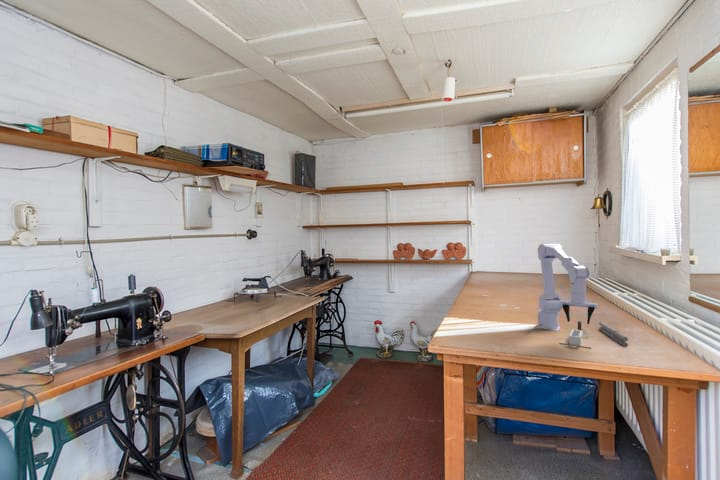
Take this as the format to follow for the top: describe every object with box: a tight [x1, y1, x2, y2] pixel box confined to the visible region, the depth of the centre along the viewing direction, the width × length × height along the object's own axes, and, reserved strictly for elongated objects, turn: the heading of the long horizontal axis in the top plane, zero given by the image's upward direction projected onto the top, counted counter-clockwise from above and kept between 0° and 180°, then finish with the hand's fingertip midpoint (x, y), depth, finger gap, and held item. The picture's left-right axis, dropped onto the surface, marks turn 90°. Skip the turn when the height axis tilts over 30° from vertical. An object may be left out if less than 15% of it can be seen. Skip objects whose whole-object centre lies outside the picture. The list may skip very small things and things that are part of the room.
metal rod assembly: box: [598, 321, 629, 347], centre depth 170 cm, size 26×3×5 cm, turn 166°
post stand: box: [567, 321, 591, 340], centre depth 176 cm, size 8×16×6 cm, turn 144°
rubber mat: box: [558, 342, 592, 350], centre depth 164 cm, size 12×12×1 cm
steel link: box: [568, 329, 584, 347], centre depth 164 cm, size 4×12×4 cm, turn 144°
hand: (578, 322), depth 164 cm, fingers open, 7 cm apart
